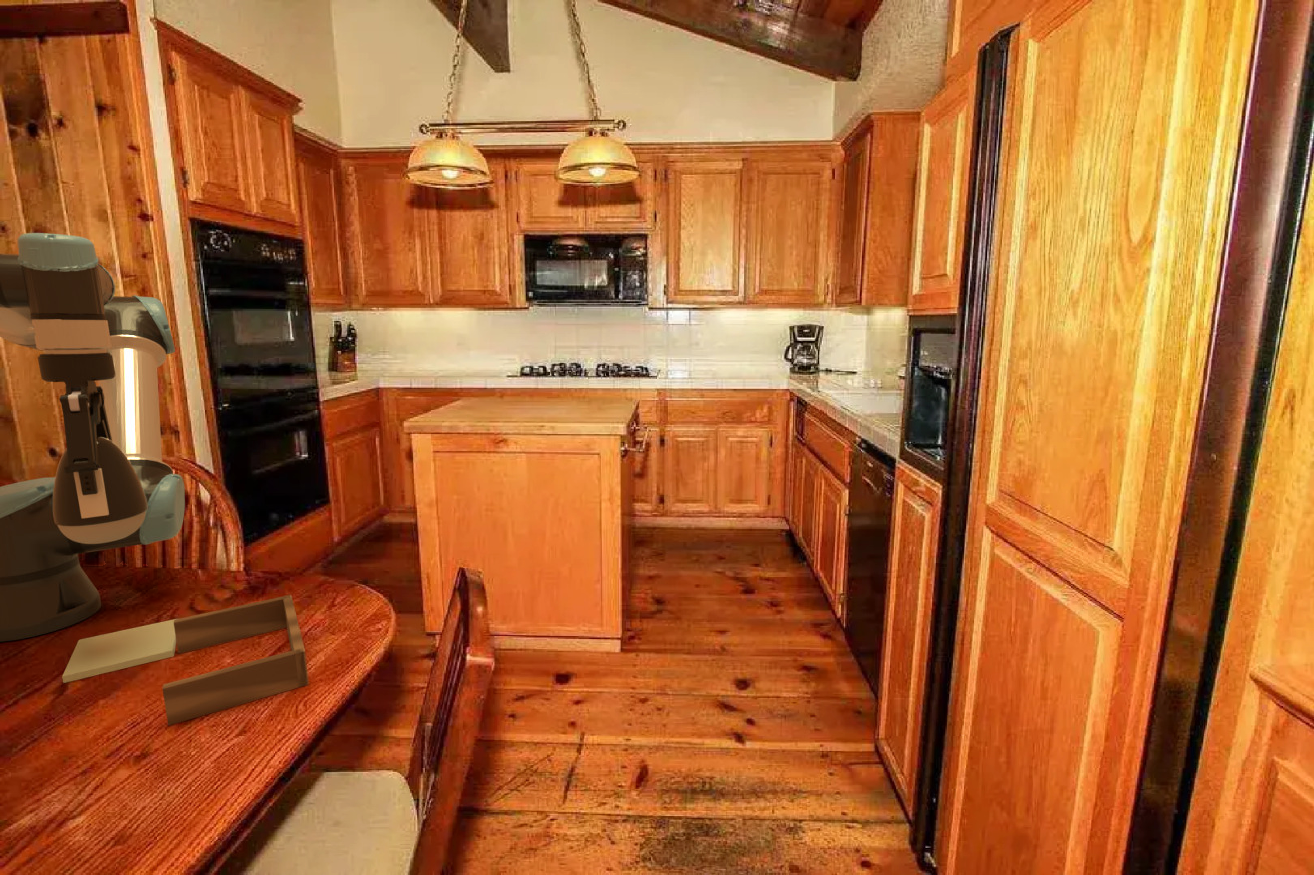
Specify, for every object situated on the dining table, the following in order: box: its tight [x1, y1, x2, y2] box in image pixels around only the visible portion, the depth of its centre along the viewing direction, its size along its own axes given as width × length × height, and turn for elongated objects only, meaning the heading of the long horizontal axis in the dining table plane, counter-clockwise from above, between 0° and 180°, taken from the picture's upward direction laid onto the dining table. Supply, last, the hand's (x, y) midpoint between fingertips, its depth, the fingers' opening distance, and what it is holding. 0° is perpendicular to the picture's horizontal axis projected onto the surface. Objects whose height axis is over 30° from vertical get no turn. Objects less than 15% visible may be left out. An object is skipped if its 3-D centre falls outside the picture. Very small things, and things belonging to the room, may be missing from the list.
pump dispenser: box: [52, 436, 148, 544], centre depth 87 cm, size 10×10×15 cm
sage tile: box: [61, 618, 177, 684], centre depth 91 cm, size 12×12×1 cm
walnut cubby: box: [162, 594, 310, 726], centre depth 87 cm, size 21×15×5 cm
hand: (101, 506), depth 87 cm, fingers closed on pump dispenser, 10 cm apart
